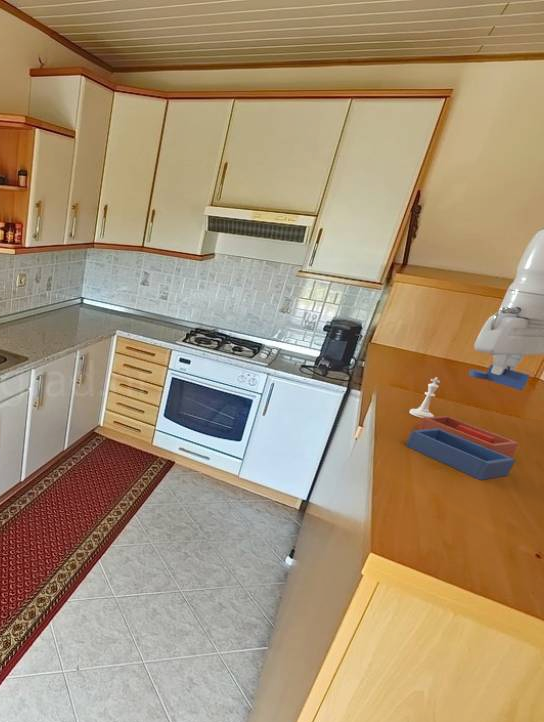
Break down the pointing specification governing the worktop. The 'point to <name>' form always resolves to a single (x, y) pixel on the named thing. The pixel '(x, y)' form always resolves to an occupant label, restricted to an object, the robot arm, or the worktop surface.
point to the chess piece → (426, 401)
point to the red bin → (450, 426)
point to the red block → (475, 434)
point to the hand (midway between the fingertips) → (500, 374)
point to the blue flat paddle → (503, 377)
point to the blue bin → (460, 453)
